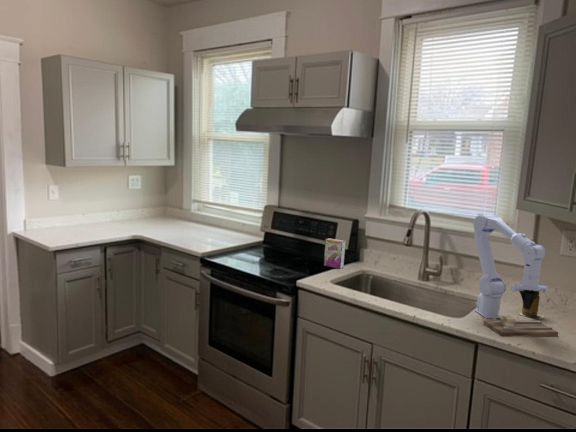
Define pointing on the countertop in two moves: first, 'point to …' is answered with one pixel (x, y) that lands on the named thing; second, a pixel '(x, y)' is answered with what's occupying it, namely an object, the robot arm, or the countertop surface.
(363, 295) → the countertop surface
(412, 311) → the countertop surface
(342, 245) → the candy bar box
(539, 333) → the console
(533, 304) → the condiment
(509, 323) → the fader tab
